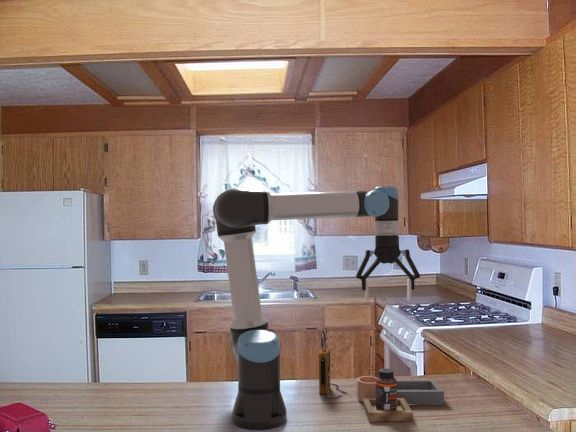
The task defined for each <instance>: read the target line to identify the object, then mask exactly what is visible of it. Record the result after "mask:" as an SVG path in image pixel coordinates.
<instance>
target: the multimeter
mask: <svg viewBox="0 0 576 432" xmlns="http://www.w3.org/2000/svg"><path fill="white" fill-rule="evenodd" d="M324 329H325V331H324ZM327 332H328V331H327V328H326V327H322V331H321V332H320V341H321V343H320V345H321V349H320V350H319V352H318V384H319V385H318V387H319V388H318V392H319V395H320V394H321V395H324V398H326V399H329V400H334V399H338V398H340V397H342V396H344V395H345V394H346V393H347V394H349V395H351V393H350V392H348V391H346V390H343V389H339V385H337V384H335V383H331V348H330V347H327V337H326V336H327V335H328V334H327ZM322 335H323V336H322ZM331 385H333V386H336V388H335V389H336V390H337V391H339V392H341V393H343V394H339V395H336V396H334V397H331V398H329V397H327V396H326V395H329V391H330V389H331ZM337 397H338V398H337ZM333 398H334V399H333Z"/></svg>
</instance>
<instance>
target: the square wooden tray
mask: <svg viewBox="0 0 576 432" xmlns="http://www.w3.org/2000/svg"><path fill="white" fill-rule="evenodd" d="M362 406H364V407H363V410H364V409H365V410H364V413H365V412H366V413H365V416H366V417H367V421H368V422H369V423H373V422H374V423H383V422H382V421H413V422H414V413H413V412H414V411H412V409H411V407H410V405H408V404H407V402H406V400H405V399H404V398H397V410H396V411H378V410H377V409H376V398H363V402H362ZM380 421H381V422H380Z"/></svg>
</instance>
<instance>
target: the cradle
mask: <svg viewBox="0 0 576 432" xmlns="http://www.w3.org/2000/svg"><path fill="white" fill-rule="evenodd" d="M396 380H397V398H404V399H405V400H406V402H407V404H439V405H438V406H444V405H445V391H444V390H443V388H442V387H441V386H440V385H439V384H438V383H437V382H436V380H435V379H396ZM404 389H418V390H404Z"/></svg>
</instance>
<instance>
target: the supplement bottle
mask: <svg viewBox="0 0 576 432" xmlns="http://www.w3.org/2000/svg"><path fill="white" fill-rule="evenodd" d="M394 374H395V373H394V369H391V368H380V369H379V370H378V376H377V378H376V409H377V410H378V411H396V410H397V380H398V379H397V378H396V377H395V376H394Z"/></svg>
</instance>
